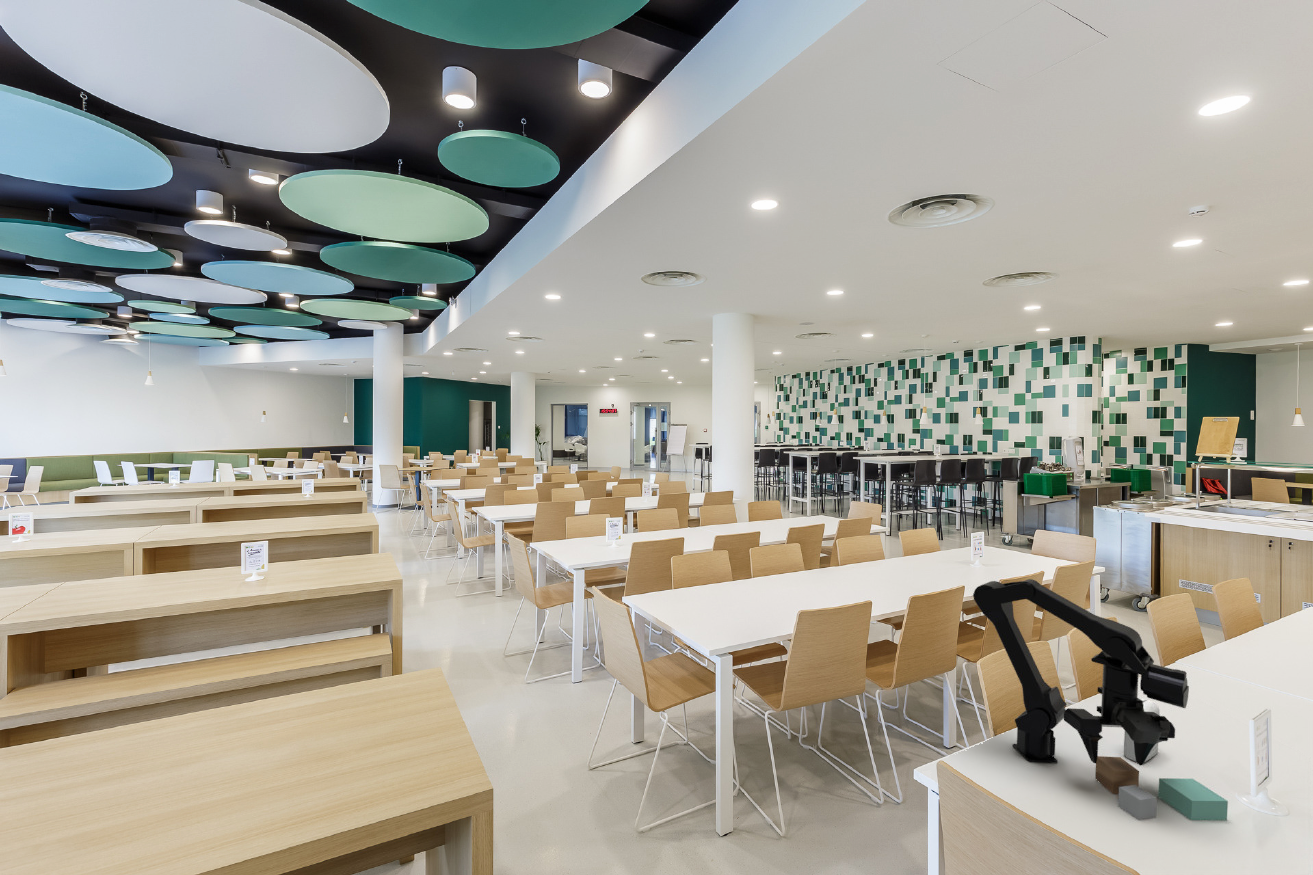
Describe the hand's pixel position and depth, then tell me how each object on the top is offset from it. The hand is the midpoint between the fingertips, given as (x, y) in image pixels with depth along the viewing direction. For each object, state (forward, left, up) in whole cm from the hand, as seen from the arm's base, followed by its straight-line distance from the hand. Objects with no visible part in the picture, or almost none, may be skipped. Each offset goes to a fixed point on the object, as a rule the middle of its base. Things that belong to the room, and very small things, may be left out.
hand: (1116, 763), depth 121 cm
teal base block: (+10, -6, -5) cm, 13 cm away
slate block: (-2, -8, -5) cm, 10 cm away
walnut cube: (0, 0, -5) cm, 5 cm away
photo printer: (+15, +13, -5) cm, 21 cm away
